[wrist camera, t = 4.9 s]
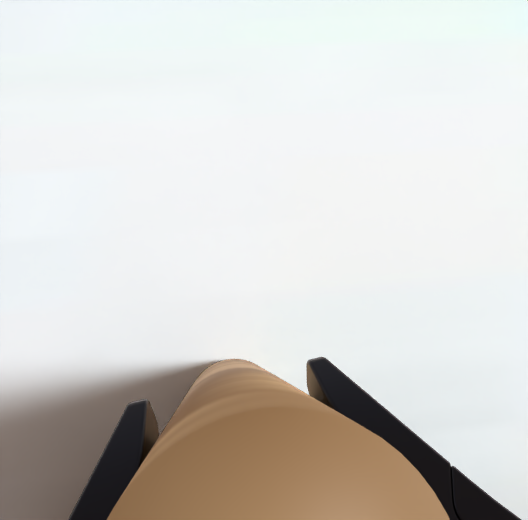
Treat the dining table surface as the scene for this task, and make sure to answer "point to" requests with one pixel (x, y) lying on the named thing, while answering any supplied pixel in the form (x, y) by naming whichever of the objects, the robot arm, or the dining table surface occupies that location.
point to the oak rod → (270, 459)
